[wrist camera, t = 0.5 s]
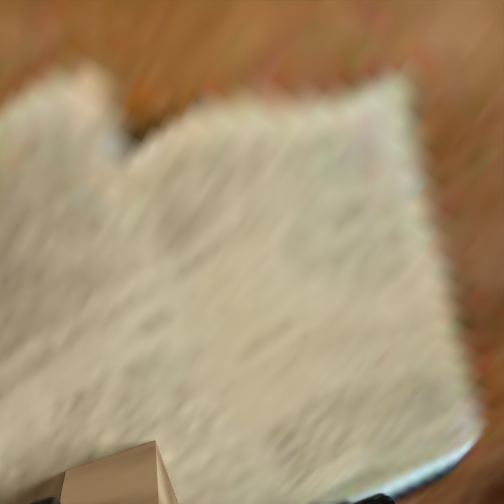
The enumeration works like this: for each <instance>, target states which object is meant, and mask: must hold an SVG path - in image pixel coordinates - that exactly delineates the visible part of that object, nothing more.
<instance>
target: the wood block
mask: <svg viewBox="0 0 504 504" xmlns="http://www.w3.org/2000/svg"><path fill="white" fill-rule="evenodd" d="M60 503H61V504H178V502H177V499H176V496H175V493H174V491H173V488H172V485H171V482H170V479H169V477H168V474H167V471H166V468H165V466H164V463H163V460H162V457H161V454H160V452H159V449H158V446H157V443H156V440H155V441H152V442H149V443H146V444H143V445H140V446H137V447H134V448H132V449H129V450H126V451H123V452H120V453H117V454H114V455H111V456H108V457H105V458H102V459H99V460H96V461H93V462H90V463H87V464H84V465H81V466H78V467H75V468H72V469H69V470H66V473H65V478H64V483H63V488H62V493H61V498H60Z"/></svg>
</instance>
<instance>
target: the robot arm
mask: <svg viewBox="0 0 504 504" xmlns="http://www.w3.org/2000/svg"><path fill="white" fill-rule="evenodd" d="M30 504H61V503H60V501H59V499H58V498H57V497H56V496H49V497H46V498H42V499H39V500H36V501H34V502H31V503H30ZM365 504H395V503H394V501H393V500H392V498H391V497H390V496H383V497H380V498H378V499H375V500H373V501H370V502H367V503H365Z"/></svg>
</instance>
